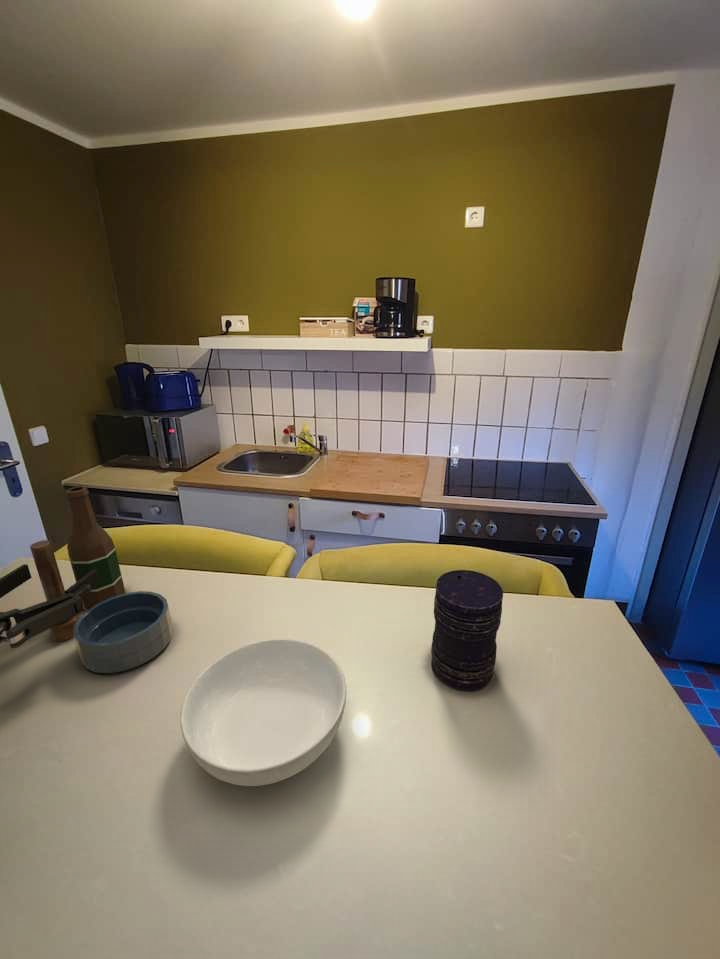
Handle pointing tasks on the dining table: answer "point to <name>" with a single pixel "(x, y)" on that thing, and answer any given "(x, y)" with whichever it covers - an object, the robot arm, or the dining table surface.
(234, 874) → the dining table surface
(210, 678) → the serving bowl
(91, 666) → the blue round dish
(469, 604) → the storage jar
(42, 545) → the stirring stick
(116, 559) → the beer bottle
